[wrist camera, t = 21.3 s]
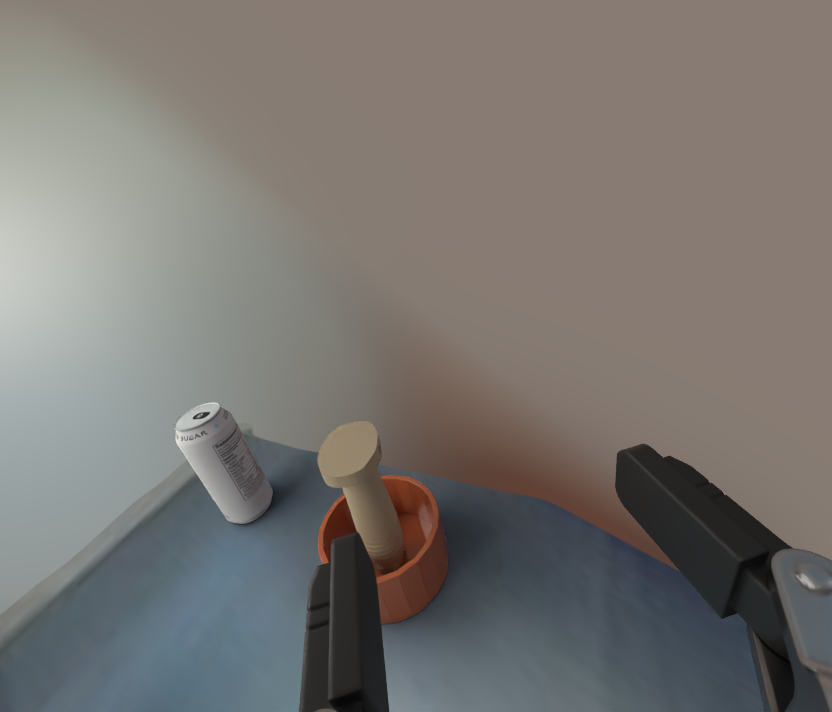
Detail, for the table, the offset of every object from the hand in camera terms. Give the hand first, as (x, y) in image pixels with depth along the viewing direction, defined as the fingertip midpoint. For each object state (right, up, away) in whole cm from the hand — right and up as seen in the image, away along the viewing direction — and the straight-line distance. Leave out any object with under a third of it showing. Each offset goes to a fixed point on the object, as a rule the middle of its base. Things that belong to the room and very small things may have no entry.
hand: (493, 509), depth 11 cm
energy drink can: (-23, -15, +37) cm, 46 cm away
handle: (-5, -16, +26) cm, 31 cm away
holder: (-5, -16, +26) cm, 31 cm away
